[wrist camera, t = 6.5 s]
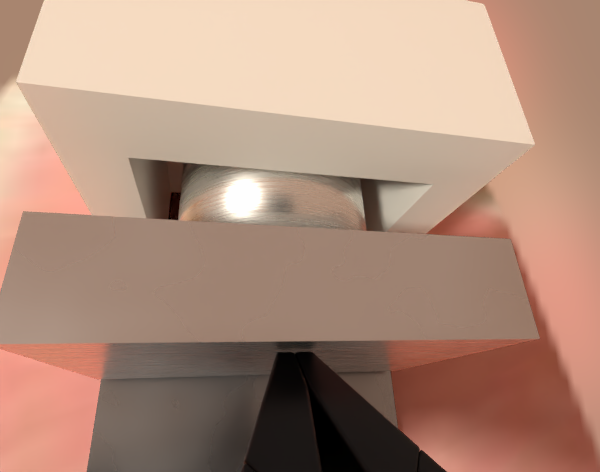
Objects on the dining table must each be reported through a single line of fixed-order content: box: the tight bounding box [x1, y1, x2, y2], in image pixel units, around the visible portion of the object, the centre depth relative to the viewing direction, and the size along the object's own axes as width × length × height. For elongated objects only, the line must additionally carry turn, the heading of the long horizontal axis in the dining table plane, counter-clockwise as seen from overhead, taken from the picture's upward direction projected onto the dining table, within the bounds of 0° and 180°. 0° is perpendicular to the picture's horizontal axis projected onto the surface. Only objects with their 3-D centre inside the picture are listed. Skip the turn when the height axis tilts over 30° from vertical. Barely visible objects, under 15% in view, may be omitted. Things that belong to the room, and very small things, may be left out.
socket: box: [16, 0, 535, 234], centre depth 13 cm, size 5×11×10 cm, turn 93°
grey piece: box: [0, 162, 540, 379], centre depth 13 cm, size 8×11×8 cm
